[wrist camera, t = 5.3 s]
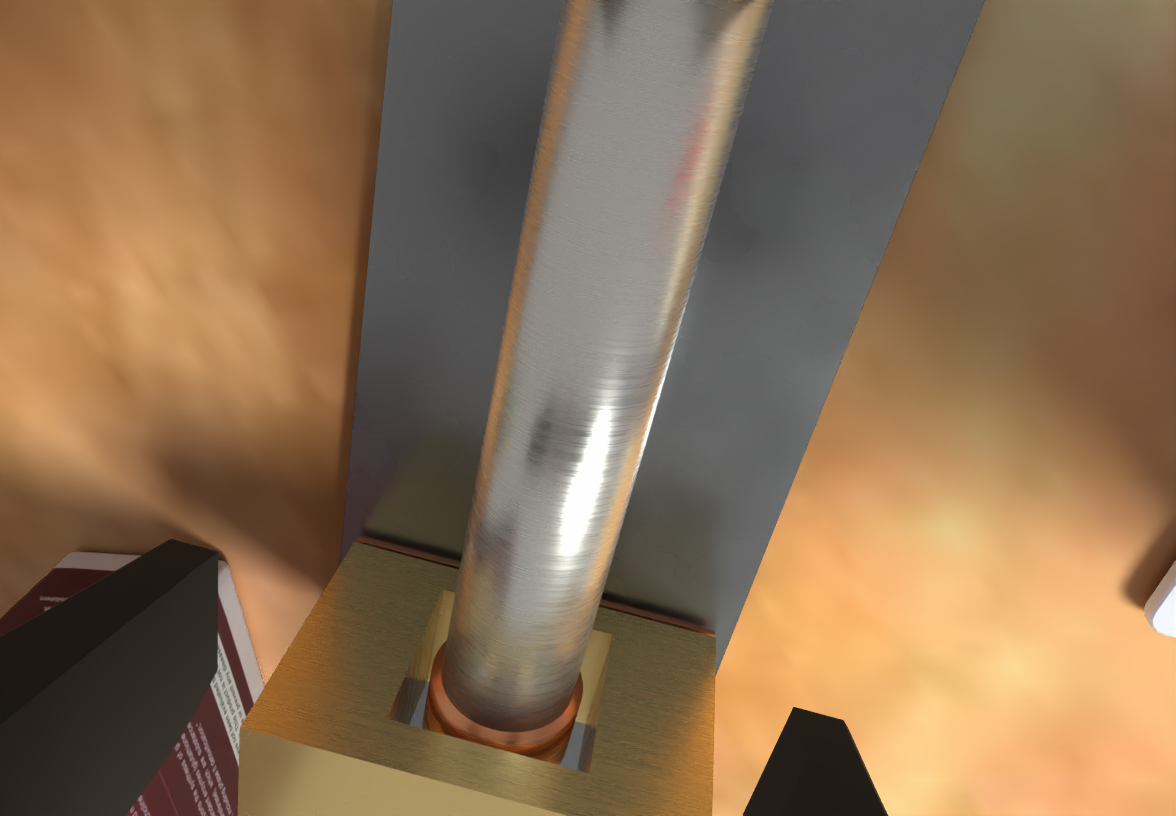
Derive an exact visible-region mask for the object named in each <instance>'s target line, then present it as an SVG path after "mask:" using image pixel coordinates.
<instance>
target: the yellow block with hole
mask: <svg viewBox="0 0 1176 816" xmlns="http://www.w3.org/2000/svg"><path fill="white" fill-rule="evenodd" d="M458 575H459V569H455V568H451V567H448V566H444V565H440V564H436V563H432V562H429V561H425V560H421V559H417V558H413V557H410V556H406V555H402V554H398V553H395V552H391V551H387V550H383V549H379V548H376V547H372V546H368V545H364V544H360V543H357V542H354V543H353V545H352V546H351V548H350V550H349V551H348V553H347V554H346V556H345V558H344V559H343V561H342V563H341V564H340V566H339V567H338V569H337V571H336V572H335V574H334V575H333V577H332V579H331V580H330V582H329V584H328V585H327V587H326V588H325V590H324V592H323V593H322V595H321V597H320V598H319V600H318V601H317V603H316V605H315V606H314V608H313V610H312V611H311V613H310V614H309V616H308V618H307V619H306V621H305V622H304V624H303V626H302V627H301V629H300V631H299V632H298V634H297V635H296V637H295V639H294V640H293V642H292V644H291V645H290V647H289V648H288V650H287V652H286V653H285V655H284V656H283V658H282V660H281V661H280V663H279V665H278V666H277V668H276V669H275V671H274V673H273V674H272V676H271V678H270V679H269V681H268V682H267V684H266V686H265V687H264V689H263V691H262V692H261V694H260V695H259V697H258V699H257V700H256V702H255V703H254V705H253V707H252V708H251V710H250V712H249V713H248V715H247V716H246V718H245V720H244V721H243V723H242V725H241V726H240V739H239V779H238V816H712V800H713V755H714V711H715V666H716V637H713V636H709V635H705V634H701V633H698V632H694V631H690V630H686V629H682V628H679V627H675V626H671V625H667V624H663V623H660V622H656V621H652V620H648V619H645V618H641V617H637V616H633V615H629V614H626V613H622V612H618V611H614V610H610V609H607V608H603V607H598V610H597V614H596V617H595V621H594V624H593V627H592V631H591V634H590V638H589V641H588V645H587V648H586V652H585V655H584V658H583V662H582V665H581V669H580V672H581V676H582V680H583V696H582V700H581V703H580V707H579V710H578V713H577V717H576V720H575V721H577V722H580V723H584V724H585V729H584V734H583V740H582V745H581V750H580V756H579V761H578V767H577V770H575V769H571V768H567V767H564V766H560V765H556V764H552V763H549V762H545V761H541V760H538V759H534V758H530V757H526V756H523V755H519V754H515V753H511V752H508V751H504V750H500V749H497V748H493V747H489V746H485V745H482V744H478V743H474V742H470V741H467V740H463V739H459V738H456V737H452V736H448V735H444V734H441V733H437V732H433V731H429V730H426V729H422V728H418V727H415V726H411V725H409V724H410V722H411V719H412V717H413V714H414V712H415V710H416V707H417V705H418V702H419V700H420V697H421V695H422V692H423V690H424V687H425V685H426V682H429V681H430V675H431V669H432V664H433V661H434V658H435V656H436V654H437V652H438V650H439V649H440V647H441V646H442V644H443V643H444V642H445V641H446V640H447V635H448V630H449V624H450V619H451V613H452V608H453V602H454V597H455V591H456V586H457V580H458Z"/></svg>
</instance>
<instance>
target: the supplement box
mask: <svg viewBox="0 0 1176 816" xmlns="http://www.w3.org/2000/svg"><path fill="white" fill-rule="evenodd" d="M140 556H142V555H132V554H116V553H96V552H75V551H74V552H71V553H69V554H68V555H67V556H65V557H64V558H63V559H62V560H61V561H60V562H59V563H58V564H57V565H56V566H55V567H54V568H53V569H52V570H51V571H50V573H49V574H48V575H47V576H45V577H44V578H43V579H42V580H41V581H40V582H38V583H37V584H36V585H35V586H34V587H33V588H32V589H31V590H30V591H29V592H28V593H27V594H26V595H25V596H24V597H23V598H22V599H21V600H19V601H18V602H17V603H16V604H15V605H14V606H13V607H12V608H11V609H10V610H9V611H8V612H7V613H6V614H5V615H4V616H3V617H2V618H1V619H0V636H2V635H4V634H5V633H7V632H9V631H11V630H13V629H14V628H16V627H18V626H20V625H22V624H23V623H25V622H27V621H29V620H30V619H32V618H34V617H36V616H38V615H39V614H41V613H43V612H45V611H47V610H48V609H50V608H52V607H54V606H56V605H57V604H59V603H61V602H62V601H64V600H66V599H68V598H69V597H71V596H73V595H75V594H76V593H78V592H80V591H81V590H83V589H85V588H87V587H88V586H90V585H92V584H94V583H95V582H97V581H99V580H100V579H102V578H104V577H106V576H107V575H109V574H111V573H112V572H114V571H116V570H118V569H119V568H121V567H123V566H124V565H126V564H128V563H130V562H131V561H133V560H135V559H136V558H138V557H140ZM263 689H264V683H263V680H262V676H261V673H260V669H259V666H258V663H257V660H256V656H255V652H254V649H253V645H252V642H251V639H250V635H249V632H248V628H247V625H246V622H245V619H244V615H243V611H242V608H241V605H240V602H239V598H238V595H237V592H236V589H235V585H234V581H233V578H232V575H231V571H230V568H229V565H228V564H227V563H226V562H225V561H221V560H218V671H217V673H216V674H215V676H214V678H213V680H212V682H211V684H210V685H209V687H208V689H207V691H206V693H205V695H204V697H203V698H202V700H201V702H200V704H199V706H198V708H197V709H196V711H195V713H194V715H193V717H192V718H191V720H190V722H189V723H188V725H187V727H186V729H185V730H184V732H183V734H182V736H181V737H180V739H179V741H178V743H177V744H176V746H175V748H174V749H173V750H172V752H171V753H170V755H169V756H168V758H167V759H166V760H165V762H164V763H163V765H162V766H161V767H160V769H159V770H158V772H157V773H156V774H155V776H154V777H153V779H152V780H151V781H150V783H149V784H148V786H147V787H146V788H145V790H144V791H143V793H142V794H141V795H140V797H139V798H138V800H137V801H136V802H135V804H134V805H133V807H132V808H131V809H130V811H129V812H128V813H127V815H126V816H238V779H239V739H240V726H241V725H242V723H243V721H244V720H245V718H246V716H247V715H248V713H249V712H250V710H251V708H252V707H253V705H254V703H255V702H256V700H257V699H258V697H259V695H260V694H261V692H262V691H263Z"/></svg>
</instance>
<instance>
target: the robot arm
mask: <svg viewBox="0 0 1176 816" xmlns="http://www.w3.org/2000/svg"><path fill="white" fill-rule="evenodd" d="M1144 615H1145V617H1146V619H1147V621H1148V622H1149V624H1150V626H1151V627H1152V628H1153V629H1154V630H1155V631H1156V632H1159V633H1161V634H1163V635H1167V636H1171V637H1175V638H1176V561H1175V562H1174V564H1173V565H1172V566H1171V568H1170V569H1169V571H1168V572H1167V574H1166V575H1165V576H1164V578H1163V579H1162V581H1161V582H1160V584H1159V585H1158V586H1157V588H1156V589H1155V591H1154V592H1153V594H1152V595H1151V597H1150V598H1149V599H1148V601H1147V602H1146V605H1145V607H1144ZM217 671H218V552H217V551H213V550H209V549H206V548H202V547H198V546H194V545H191V544H187V543H183V542H180V541H176V540H172V539H170V540H169V541H167V542H165V543H163V544H161V545H160V546H158V547H156V548H154V549H152V550H151V551H149V552H147V553H145V554H143V555H142V556H140V557H138V558H136V559H135V560H133V561H131V562H130V563H128V564H126V565H124V566H123V567H121V568H119V569H118V570H116V571H114V572H112V573H111V574H109V575H107V576H106V577H104V578H102V579H100V580H99V581H97V582H95V583H94V584H92V585H90V586H88V587H87V588H85V589H83V590H81V591H80V592H78V593H76V594H75V595H73V596H71V597H69V598H68V599H66V600H64V601H62V602H61V603H59V604H57V605H56V606H54V607H52V608H50V609H48V610H47V611H45V612H43V613H41V614H39V615H38V616H36V617H34V618H32V619H30V620H29V621H27V622H25V623H23V624H22V625H20V626H18V627H16V628H14V629H13V630H11V631H9V632H7V633H5V634H4V635H2V636H0V816H126V815H127V813H128V812H129V811H130V809H131V808H132V807H133V805H134V804H135V802H136V801H137V800H138V798H139V797H140V795H141V794H142V793H143V791H144V790H145V788H146V787H147V786H148V784H149V783H150V781H151V780H152V779H153V777H154V776H155V774H156V773H157V772H158V770H159V769H160V767H161V766H162V765H163V763H164V762H165V760H166V759H167V758H168V756H169V755H170V753H171V752H172V750H173V749H174V748H175V746H176V744H177V743H178V741H179V739H180V737H181V736H182V734H183V732H184V730H185V729H186V727H187V725H188V723H189V722H190V720H191V718H192V717H193V715H194V713H195V711H196V709H197V708H198V706H199V704H200V702H201V700H202V698H203V697H204V695H205V693H206V691H207V689H208V687H209V685H210V684H211V682H212V680H213V678H214V676H215V674H216V673H217ZM743 816H888V814H887V812H886V810H885V808H884V806H883V804H882V802H881V799H880V797H879V795H878V793H877V791H876V789H875V786H874V784H873V782H872V780H871V778H870V775H869V773H868V771H867V769H866V767H865V764H864V762H863V760H862V758H861V756H860V753H859V751H858V749H857V747H856V744H855V742H854V740H853V738H852V736H851V733H850V731H849V729H848V727H847V726H846V724H845V722H844V720H841V719H837V718H833V717H829V716H826V715H822V714H818V713H815V712H811V711H807V710H803V709H800V708H796V707H793V709H792V711H791V714H790V716H789V718H788V720H787V722H786V724H785V726H784V728H783V731H782V733H781V735H780V737H779V739H778V741H777V743H776V745H775V748H774V750H773V752H772V754H771V756H770V758H769V760H768V762H767V765H766V767H765V769H764V771H763V773H762V775H761V777H760V779H759V782H758V784H757V786H756V788H755V790H754V792H753V794H752V796H751V798H750V801H749V803H748V805H747V807H746V809H745V811H744V813H743Z"/></svg>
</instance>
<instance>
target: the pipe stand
mask: <svg viewBox="0 0 1176 816" xmlns="http://www.w3.org/2000/svg"><path fill="white" fill-rule="evenodd" d="M984 1H985V0H393V3H392V13H391V24H390V34H389V45H388V56H387V66H386V77H385V88H384V98H383V109H382V119H381V130H380V141H379V151H378V162H377V172H376V183H375V194H374V204H373V215H372V225H371V236H370V247H369V257H368V268H367V279H366V289H365V300H364V310H363V321H362V332H361V342H360V353H359V363H358V374H357V385H356V395H355V406H354V416H353V427H352V438H351V448H350V459H349V470H348V480H347V491H346V501H345V512H344V523H343V533H342V544H341V554H340V564H341V563H342V561H343V559H344V558H345V556H346V554H347V553H348V551H349V550H350V548H351V546H352V545H353V543H354V542H357V543H360V544H364V545H368V546H372V547H376V548H379V549H383V550H387V551H391V552H395V553H398V554H402V555H406V556H410V557H413V558H417V559H421V560H425V561H429V562H432V563H436V564H440V565H444V566H448V567H451V568H455V569H459V575H458V580H457V586H456V591H455V597H454V602H453V608H452V613H451V619H450V624H449V630H448V635H447V640H446V641H445V642H444V643H443V644H442V646H441V647H440V649H439V650H438V652H437V654H436V656H435V658H434V661H433V664H432V669H431V675H430V681H429V682H426V685H425V687H424V690H423V692H422V695H421V697H420V700H419V702H418V705H417V707H416V710H415V712H414V714H413V717H412V719H411V722H410V724H409V725H411V726H415V727H418V728H422V729H426V730H429V731H433V732H437V733H441V734H444V735H448V736H452V737H456V738H459V739H463V740H467V741H470V742H474V743H478V744H482V745H485V746H489V747H493V748H497V749H500V750H504V751H508V752H511V753H515V754H519V755H523V756H526V757H530V758H534V759H538V760H541V761H545V762H549V763H552V764H556V765H560V766H564V767H567V768H571V769H575V770H577V767H578V761H579V756H580V750H581V745H582V740H583V734H584V729H585V724H584V723H580V722H577V721H575V720H576V717H577V713H578V710H579V707H580V703H581V700H582V696H583V680H582V676H581V672H580V669H581V665H582V662H583V658H584V655H585V652H586V648H587V645H588V641H589V638H590V634H591V631H592V627H593V624H594V621H595V617H596V614H597V610H598V607H603V608H607V609H610V610H614V611H618V612H622V613H626V614H629V615H633V616H637V617H641V618H645V619H648V620H652V621H656V622H660V623H663V624H667V625H671V626H675V627H679V628H682V629H686V630H690V631H694V632H698V633H701V634H705V635H709V636H713V637H716V666H715V676H716V674H717V671H718V669H719V666H720V664H721V661H722V659H723V656H724V654H725V651H726V649H727V646H728V644H729V641H730V639H731V636H732V634H733V631H734V629H735V626H736V623H737V621H738V618H739V616H740V613H741V611H742V608H743V606H744V603H745V601H746V598H747V596H748V593H749V591H750V588H751V586H752V583H753V581H754V578H755V576H756V573H757V571H758V568H759V566H760V563H761V561H762V558H763V556H764V553H765V551H766V548H767V546H768V543H769V541H770V538H771V536H772V533H773V531H774V528H775V526H776V523H777V521H778V518H779V516H780V513H781V510H782V508H783V505H784V503H785V500H786V498H787V495H788V493H789V490H790V488H791V485H792V483H793V480H794V478H795V475H796V473H797V470H798V468H799V465H800V463H801V460H802V458H803V455H804V453H805V450H806V448H807V445H808V443H809V440H810V438H811V435H812V433H813V430H814V428H815V425H816V423H817V420H818V418H819V415H820V413H821V410H822V408H823V405H824V402H825V400H826V397H827V395H828V392H829V390H830V387H831V385H832V382H833V380H834V377H835V375H836V372H837V370H838V367H839V365H840V362H841V360H842V357H843V355H844V352H845V350H846V347H847V345H848V342H849V340H850V337H851V335H852V332H853V330H854V327H855V325H856V322H857V320H858V317H859V315H860V312H861V310H862V307H863V305H864V302H865V300H866V297H867V294H868V292H869V289H870V287H871V284H872V282H873V279H874V277H875V274H876V272H877V269H878V267H879V264H880V262H881V259H882V257H883V254H884V252H885V249H886V247H887V244H888V242H889V239H890V237H891V234H892V232H893V229H894V227H895V224H896V222H897V219H898V217H899V214H900V212H901V209H902V207H903V204H904V202H905V199H906V197H907V194H908V192H909V189H910V186H911V184H912V181H913V179H914V176H915V174H916V171H917V169H918V166H919V164H920V161H921V159H922V156H923V154H924V151H925V149H926V146H927V144H928V141H929V139H930V136H931V134H932V131H933V129H934V126H935V124H936V121H937V119H938V116H939V114H940V111H941V109H942V106H943V104H944V101H945V99H946V96H947V94H948V91H949V89H950V86H951V84H952V81H953V78H954V76H955V73H956V71H957V68H958V66H959V63H960V61H961V58H962V56H963V53H964V51H965V48H966V46H967V43H968V41H969V38H970V36H971V33H972V31H973V28H974V26H975V23H976V21H977V18H978V16H979V13H980V11H981V8H982V6H983V3H984ZM339 566H340V565H339Z"/></svg>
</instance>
